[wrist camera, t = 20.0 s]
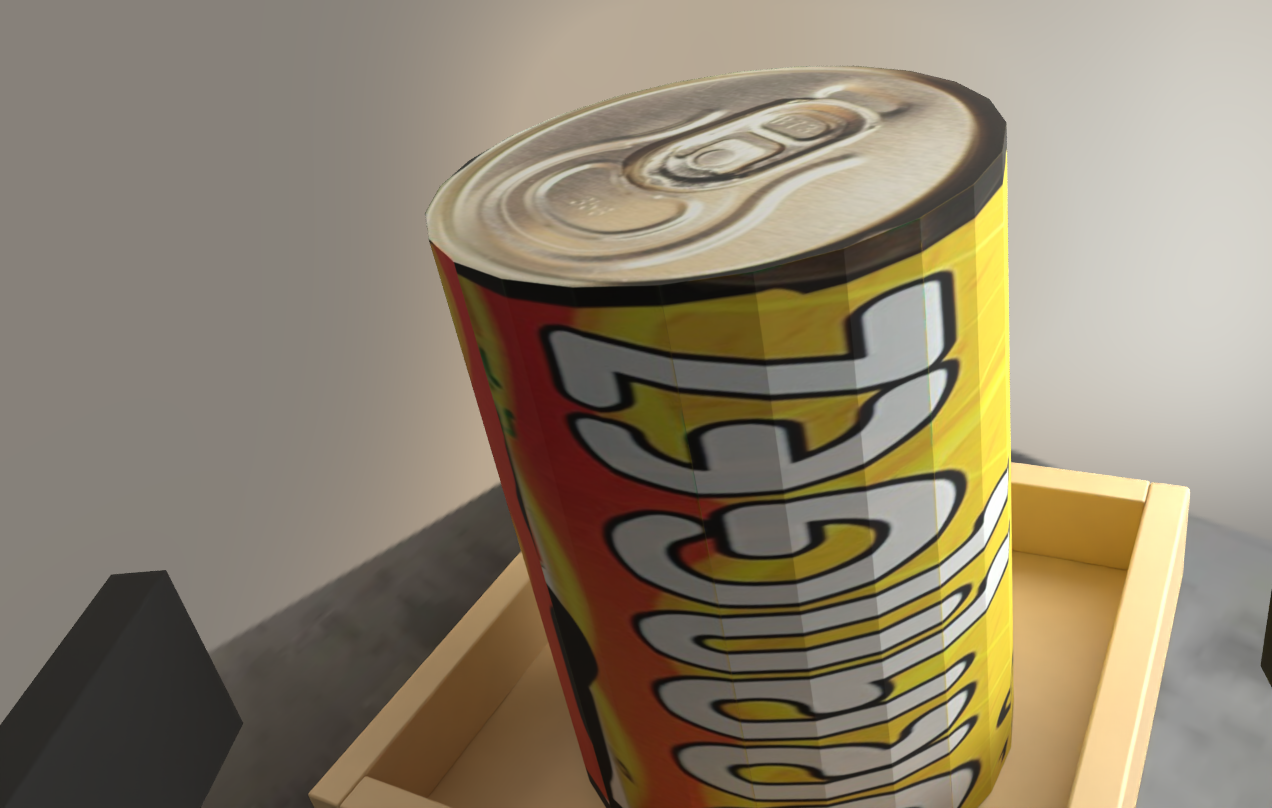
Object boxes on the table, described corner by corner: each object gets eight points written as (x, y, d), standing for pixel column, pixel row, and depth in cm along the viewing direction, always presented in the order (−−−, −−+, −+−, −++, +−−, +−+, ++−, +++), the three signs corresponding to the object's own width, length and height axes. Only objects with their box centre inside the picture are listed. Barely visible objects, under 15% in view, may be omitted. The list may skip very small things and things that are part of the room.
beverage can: (505, 697, 25) (339, 197, 19) (806, 514, 29) (746, 45, 23) (763, 991, 19) (630, 361, 12) (1113, 702, 22) (1142, 107, 16)
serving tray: (347, 877, 23) (306, 793, 21) (657, 484, 32) (642, 411, 31) (1058, 1185, 16) (1062, 1090, 15) (1182, 574, 26) (1190, 485, 24)
